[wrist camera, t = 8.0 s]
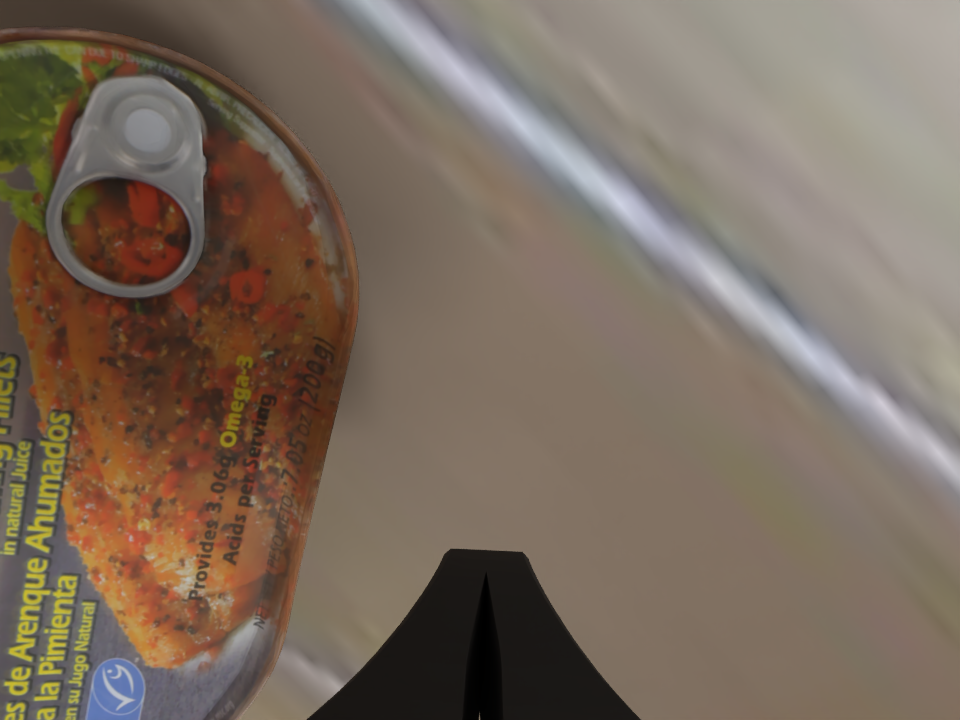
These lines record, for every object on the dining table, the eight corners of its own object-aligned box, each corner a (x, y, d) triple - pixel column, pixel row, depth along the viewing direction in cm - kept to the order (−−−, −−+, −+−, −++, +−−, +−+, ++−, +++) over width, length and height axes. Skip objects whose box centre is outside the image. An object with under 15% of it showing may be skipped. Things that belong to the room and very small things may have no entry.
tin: (247, 795, 15) (-281, 891, 11) (231, 694, 18) (-198, 739, 13) (412, 130, 12) (-221, -93, 8) (363, 131, 15) (-129, -36, 11)
